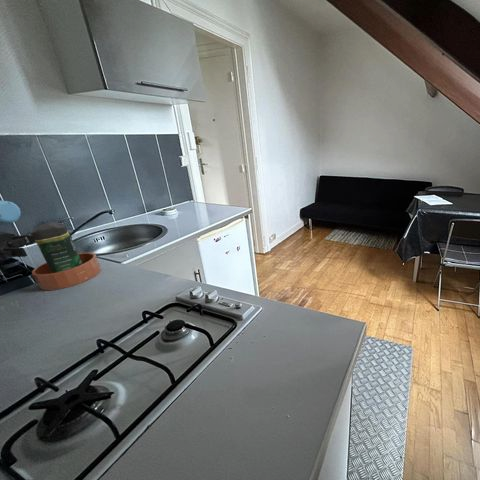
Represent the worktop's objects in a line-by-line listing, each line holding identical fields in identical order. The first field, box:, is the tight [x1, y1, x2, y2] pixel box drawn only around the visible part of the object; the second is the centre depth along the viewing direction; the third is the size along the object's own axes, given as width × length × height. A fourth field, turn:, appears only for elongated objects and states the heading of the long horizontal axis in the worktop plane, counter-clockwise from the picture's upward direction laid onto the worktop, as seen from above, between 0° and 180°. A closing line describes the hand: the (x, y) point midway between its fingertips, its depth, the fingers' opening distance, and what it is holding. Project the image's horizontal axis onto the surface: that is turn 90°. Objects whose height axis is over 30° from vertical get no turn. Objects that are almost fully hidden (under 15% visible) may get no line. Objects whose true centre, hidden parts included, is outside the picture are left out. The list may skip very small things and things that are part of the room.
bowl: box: [31, 252, 102, 291], centre depth 89 cm, size 16×16×6 cm
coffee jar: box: [31, 221, 83, 273], centre depth 86 cm, size 10×8×19 cm
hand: (48, 243), depth 85 cm, fingers open, 13 cm apart
